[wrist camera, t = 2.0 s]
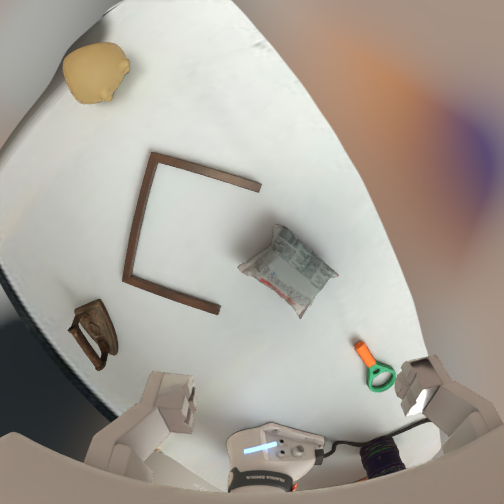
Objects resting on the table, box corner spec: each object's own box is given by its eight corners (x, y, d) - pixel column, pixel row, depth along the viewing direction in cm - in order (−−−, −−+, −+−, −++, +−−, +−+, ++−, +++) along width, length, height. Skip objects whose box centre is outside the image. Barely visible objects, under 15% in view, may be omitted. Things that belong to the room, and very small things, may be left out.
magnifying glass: (398, 377, 47) (401, 382, 45) (373, 393, 48) (376, 398, 46) (371, 332, 44) (375, 337, 42) (342, 351, 45) (345, 357, 43)
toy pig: (131, 62, 35) (83, 37, 27) (149, 55, 28) (87, 22, 20) (100, 111, 37) (50, 88, 29) (108, 117, 30) (43, 88, 22)
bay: (261, 184, 38) (261, 184, 37) (218, 312, 43) (217, 315, 42) (153, 152, 36) (151, 151, 35) (124, 279, 42) (121, 281, 41)
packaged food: (297, 310, 42) (302, 325, 38) (237, 263, 41) (235, 274, 36) (335, 269, 41) (345, 280, 36) (277, 217, 39) (280, 223, 34)
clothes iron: (99, 293, 43) (82, 330, 34) (133, 337, 48) (126, 377, 39) (73, 305, 43) (55, 341, 34) (107, 347, 48) (97, 384, 39)
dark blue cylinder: (387, 430, 52) (406, 474, 37) (397, 442, 54) (414, 482, 39) (353, 449, 54) (366, 494, 39) (366, 459, 56) (378, 500, 41)
